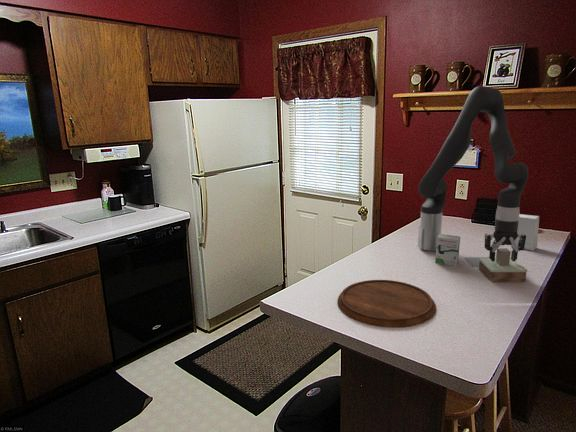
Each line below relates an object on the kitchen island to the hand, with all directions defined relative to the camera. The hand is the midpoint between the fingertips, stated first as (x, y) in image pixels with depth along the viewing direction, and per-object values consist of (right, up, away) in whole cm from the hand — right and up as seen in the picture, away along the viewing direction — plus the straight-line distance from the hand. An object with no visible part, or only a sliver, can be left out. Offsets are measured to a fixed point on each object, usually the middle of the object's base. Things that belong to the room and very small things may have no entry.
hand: (502, 260), depth 155 cm
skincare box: (+27, +2, +33) cm, 42 cm away
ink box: (-15, -3, +17) cm, 22 cm away
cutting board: (-48, -13, -16) cm, 52 cm away
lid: (0, -2, +1) cm, 2 cm away
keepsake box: (0, -6, +2) cm, 7 cm away
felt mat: (-1, -3, +16) cm, 16 cm away
